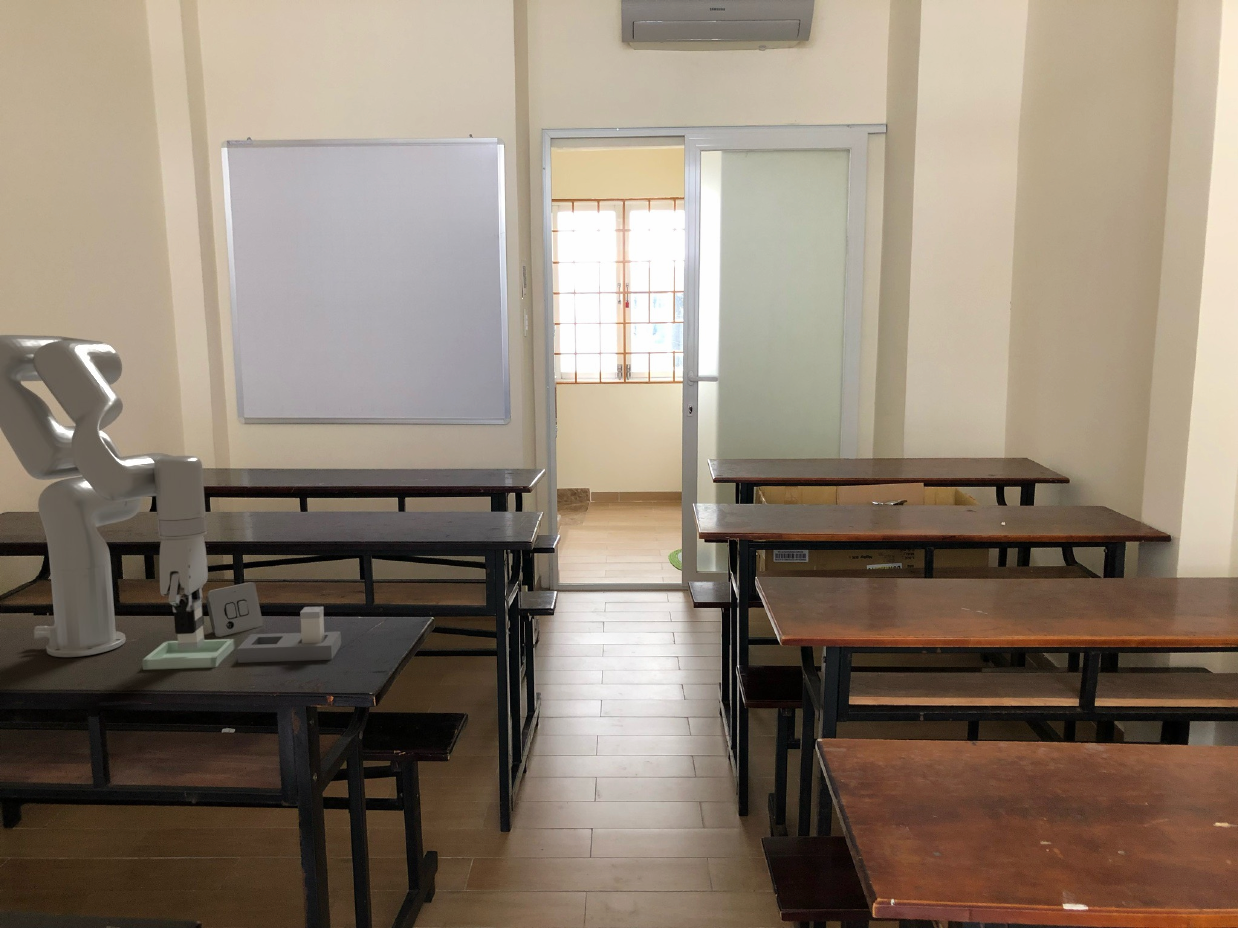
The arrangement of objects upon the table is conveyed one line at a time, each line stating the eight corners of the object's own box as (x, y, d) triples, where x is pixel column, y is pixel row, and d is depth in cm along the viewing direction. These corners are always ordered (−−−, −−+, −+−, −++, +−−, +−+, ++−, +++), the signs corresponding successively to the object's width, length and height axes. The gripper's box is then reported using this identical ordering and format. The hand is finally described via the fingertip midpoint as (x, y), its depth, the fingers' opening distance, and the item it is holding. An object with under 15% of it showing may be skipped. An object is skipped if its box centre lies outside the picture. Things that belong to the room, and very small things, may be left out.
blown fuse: (178, 649, 156) (174, 605, 155) (185, 643, 159) (181, 599, 158) (197, 648, 156) (194, 604, 155) (204, 642, 159) (201, 599, 159)
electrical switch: (218, 639, 170) (213, 591, 169) (205, 637, 173) (200, 589, 173) (264, 628, 177) (259, 582, 177) (250, 625, 180) (246, 580, 180)
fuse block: (237, 665, 156) (237, 648, 156) (251, 649, 164) (250, 634, 164) (331, 661, 158) (331, 645, 157) (341, 647, 166) (340, 631, 165)
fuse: (302, 655, 159) (300, 612, 158) (306, 649, 163) (304, 606, 162) (321, 655, 160) (319, 611, 159) (325, 649, 163) (323, 606, 162)
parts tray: (143, 672, 153) (142, 659, 152) (166, 652, 162) (165, 641, 162) (216, 669, 154) (215, 657, 154) (234, 650, 164) (234, 638, 163)
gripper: (178, 519, 163) (185, 617, 165) (139, 537, 147) (148, 645, 149) (221, 518, 164) (227, 615, 166) (187, 535, 147) (195, 643, 150)
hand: (189, 628), depth 157 cm, fingers closed on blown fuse, 3 cm apart
